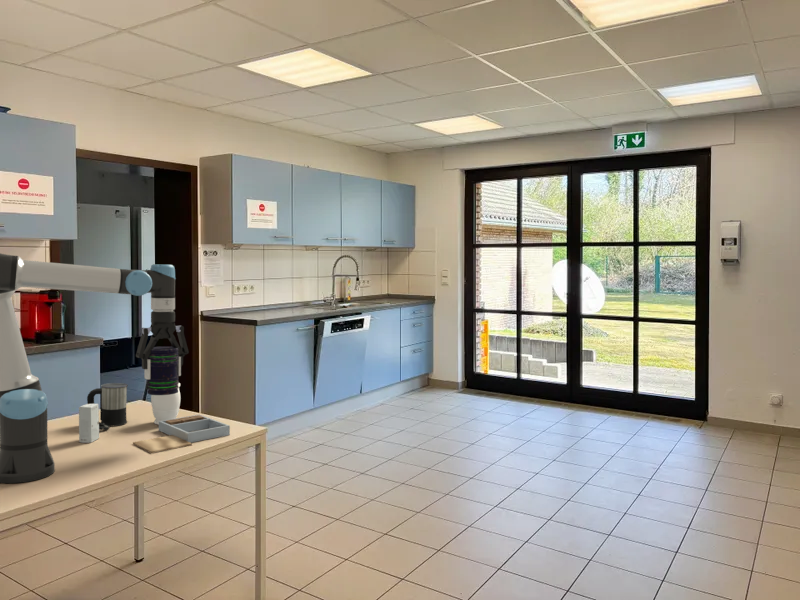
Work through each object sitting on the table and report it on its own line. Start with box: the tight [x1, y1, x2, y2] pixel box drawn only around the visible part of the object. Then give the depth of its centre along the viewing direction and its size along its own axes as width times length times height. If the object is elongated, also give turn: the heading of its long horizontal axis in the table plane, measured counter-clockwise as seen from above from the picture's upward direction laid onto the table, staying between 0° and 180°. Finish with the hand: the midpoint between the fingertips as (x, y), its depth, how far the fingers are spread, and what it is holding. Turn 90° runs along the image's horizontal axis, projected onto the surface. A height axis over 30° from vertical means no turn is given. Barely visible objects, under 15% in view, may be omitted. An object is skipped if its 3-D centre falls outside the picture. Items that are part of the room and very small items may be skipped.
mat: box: [132, 435, 193, 454], centre depth 209 cm, size 14×14×1 cm
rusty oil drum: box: [146, 345, 180, 396], centre depth 208 cm, size 10×10×15 cm
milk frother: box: [86, 382, 129, 432], centre depth 230 cm, size 14×16×15 cm
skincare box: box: [78, 403, 100, 444], centre depth 212 cm, size 6×4×12 cm
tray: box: [158, 414, 231, 443], centre depth 225 cm, size 16×22×3 cm
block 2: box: [178, 416, 193, 423], centre depth 229 cm, size 4×4×4 cm
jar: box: [150, 382, 181, 426], centre depth 237 cm, size 11×10×15 cm
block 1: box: [166, 419, 181, 425], centre depth 226 cm, size 4×4×4 cm
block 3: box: [188, 414, 204, 421], centre depth 232 cm, size 4×4×4 cm
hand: (162, 377), depth 208 cm, fingers closed on rusty oil drum, 10 cm apart
